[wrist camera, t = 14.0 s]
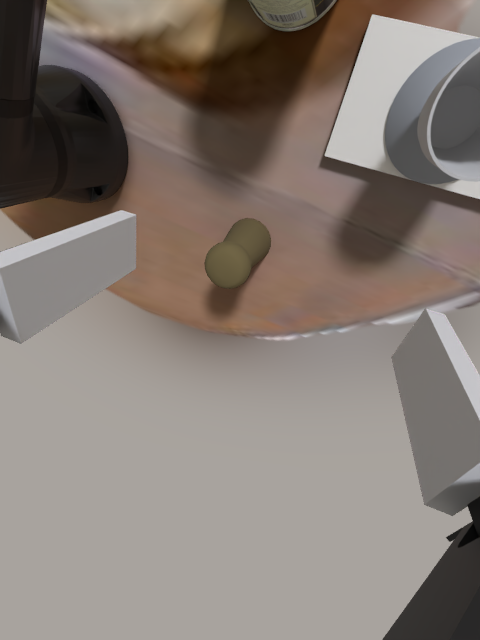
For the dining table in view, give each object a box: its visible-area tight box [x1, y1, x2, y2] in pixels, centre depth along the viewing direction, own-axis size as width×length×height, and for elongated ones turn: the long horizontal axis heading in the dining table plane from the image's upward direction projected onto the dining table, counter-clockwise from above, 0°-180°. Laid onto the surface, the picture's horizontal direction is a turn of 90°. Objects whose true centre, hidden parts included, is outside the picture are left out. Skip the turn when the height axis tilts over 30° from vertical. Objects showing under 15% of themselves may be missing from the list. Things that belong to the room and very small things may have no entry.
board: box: [324, 14, 480, 199], centre depth 28 cm, size 20×11×2 cm, turn 77°
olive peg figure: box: [205, 218, 271, 289], centre depth 36 cm, size 6×6×11 cm
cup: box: [417, 47, 480, 182], centre depth 23 cm, size 8×8×10 cm
